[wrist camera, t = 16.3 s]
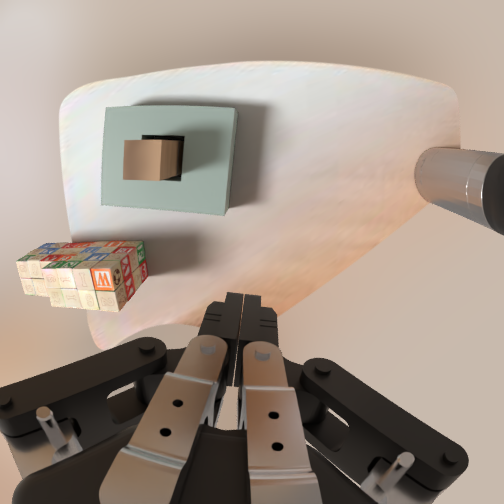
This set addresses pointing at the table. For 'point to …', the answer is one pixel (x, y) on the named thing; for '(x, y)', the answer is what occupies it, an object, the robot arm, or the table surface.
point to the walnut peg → (152, 159)
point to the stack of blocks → (85, 273)
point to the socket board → (194, 157)
